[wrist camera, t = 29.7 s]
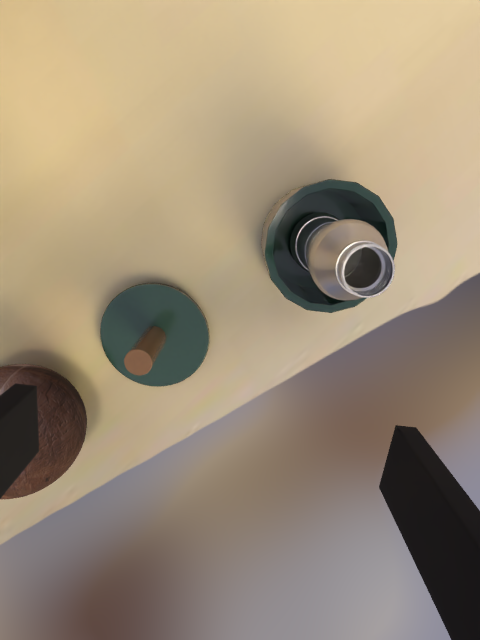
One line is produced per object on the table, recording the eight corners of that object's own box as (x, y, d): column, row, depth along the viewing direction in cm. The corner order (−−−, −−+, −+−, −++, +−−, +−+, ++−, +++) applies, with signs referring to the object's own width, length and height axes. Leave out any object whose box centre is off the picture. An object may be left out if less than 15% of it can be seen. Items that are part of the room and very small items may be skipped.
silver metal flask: (332, 202, 44) (400, 203, 25) (351, 257, 46) (428, 298, 27) (279, 225, 45) (306, 242, 26) (299, 278, 47) (338, 332, 27)
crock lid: (104, 275, 48) (73, 292, 39) (214, 288, 48) (208, 308, 39) (102, 376, 52) (73, 412, 43) (204, 387, 52) (196, 425, 43)
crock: (269, 177, 44) (275, 172, 36) (378, 191, 45) (410, 189, 36) (254, 285, 48) (257, 304, 39) (355, 297, 48) (380, 318, 40)
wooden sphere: (78, 333, 50) (12, 386, 36) (120, 431, 54) (75, 514, 40) (-28, 361, 51) (-133, 424, 37) (21, 455, 55) (-57, 544, 41)
